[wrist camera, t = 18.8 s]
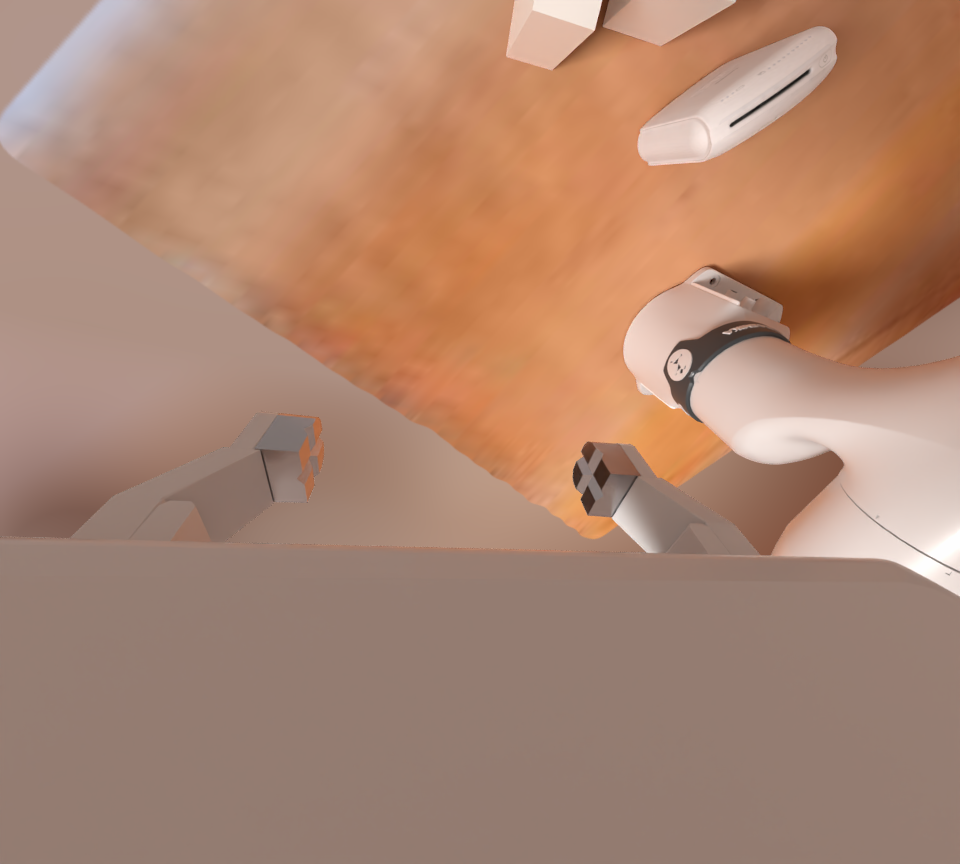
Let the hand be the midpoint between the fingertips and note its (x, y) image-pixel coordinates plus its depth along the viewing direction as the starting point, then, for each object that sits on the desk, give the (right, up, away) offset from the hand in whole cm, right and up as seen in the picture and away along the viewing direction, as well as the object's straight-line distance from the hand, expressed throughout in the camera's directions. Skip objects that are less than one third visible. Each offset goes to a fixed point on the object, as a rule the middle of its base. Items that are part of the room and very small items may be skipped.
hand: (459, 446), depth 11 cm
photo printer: (+22, +33, +25) cm, 47 cm away
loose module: (+6, +37, +20) cm, 42 cm away
